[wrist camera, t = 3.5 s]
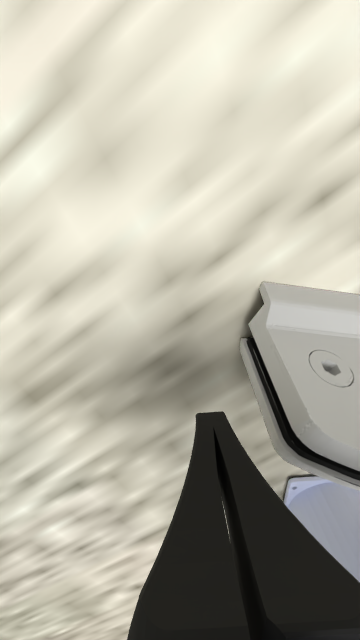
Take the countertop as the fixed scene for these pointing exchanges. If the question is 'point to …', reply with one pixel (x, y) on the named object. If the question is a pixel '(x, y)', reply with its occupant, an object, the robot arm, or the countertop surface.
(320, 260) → the countertop surface
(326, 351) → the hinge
